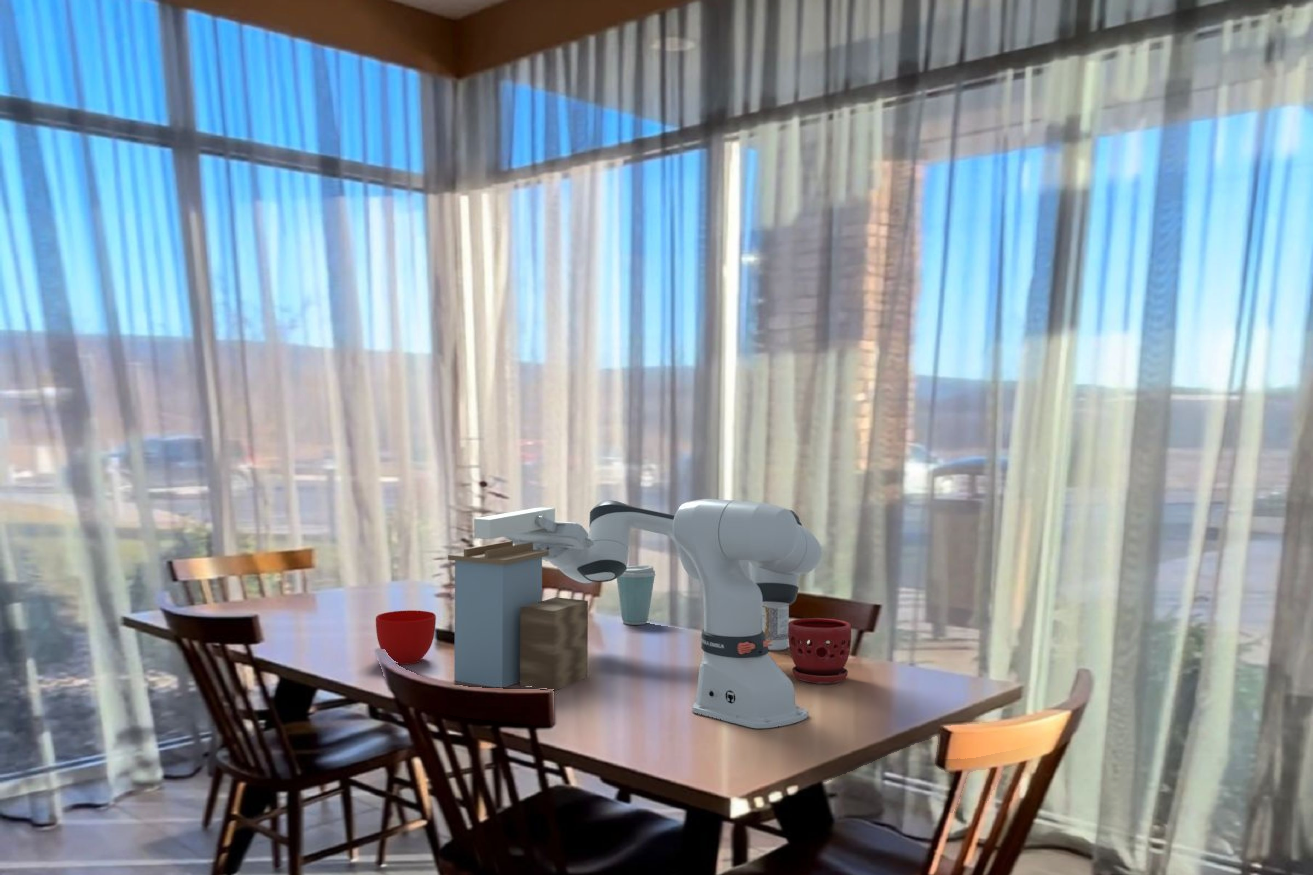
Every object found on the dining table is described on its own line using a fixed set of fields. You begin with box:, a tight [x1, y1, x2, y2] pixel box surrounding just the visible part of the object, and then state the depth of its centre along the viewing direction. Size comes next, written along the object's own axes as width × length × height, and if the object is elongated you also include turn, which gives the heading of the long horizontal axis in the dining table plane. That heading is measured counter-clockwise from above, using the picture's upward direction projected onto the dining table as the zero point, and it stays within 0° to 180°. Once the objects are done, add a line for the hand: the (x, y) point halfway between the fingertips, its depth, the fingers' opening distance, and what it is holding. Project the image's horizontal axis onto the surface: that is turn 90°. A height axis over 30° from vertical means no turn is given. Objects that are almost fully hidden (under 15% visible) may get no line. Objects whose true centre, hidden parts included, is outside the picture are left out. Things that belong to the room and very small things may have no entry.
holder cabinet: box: [447, 540, 549, 688], centre depth 212 cm, size 16×14×28 cm
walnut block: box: [519, 596, 589, 691], centre depth 209 cm, size 13×8×16 cm, turn 152°
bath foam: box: [762, 605, 790, 651], centre depth 241 cm, size 7×7×20 cm
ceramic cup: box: [375, 609, 437, 665], centre depth 227 cm, size 13×17×10 cm
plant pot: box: [788, 617, 852, 685], centre depth 214 cm, size 13×13×12 cm
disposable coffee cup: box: [616, 565, 656, 626], centre depth 269 cm, size 11×11×15 cm
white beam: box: [473, 506, 556, 540], centre depth 217 cm, size 24×4×4 cm, turn 152°
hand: (527, 518), depth 221 cm, fingers closed on white beam, 4 cm apart
